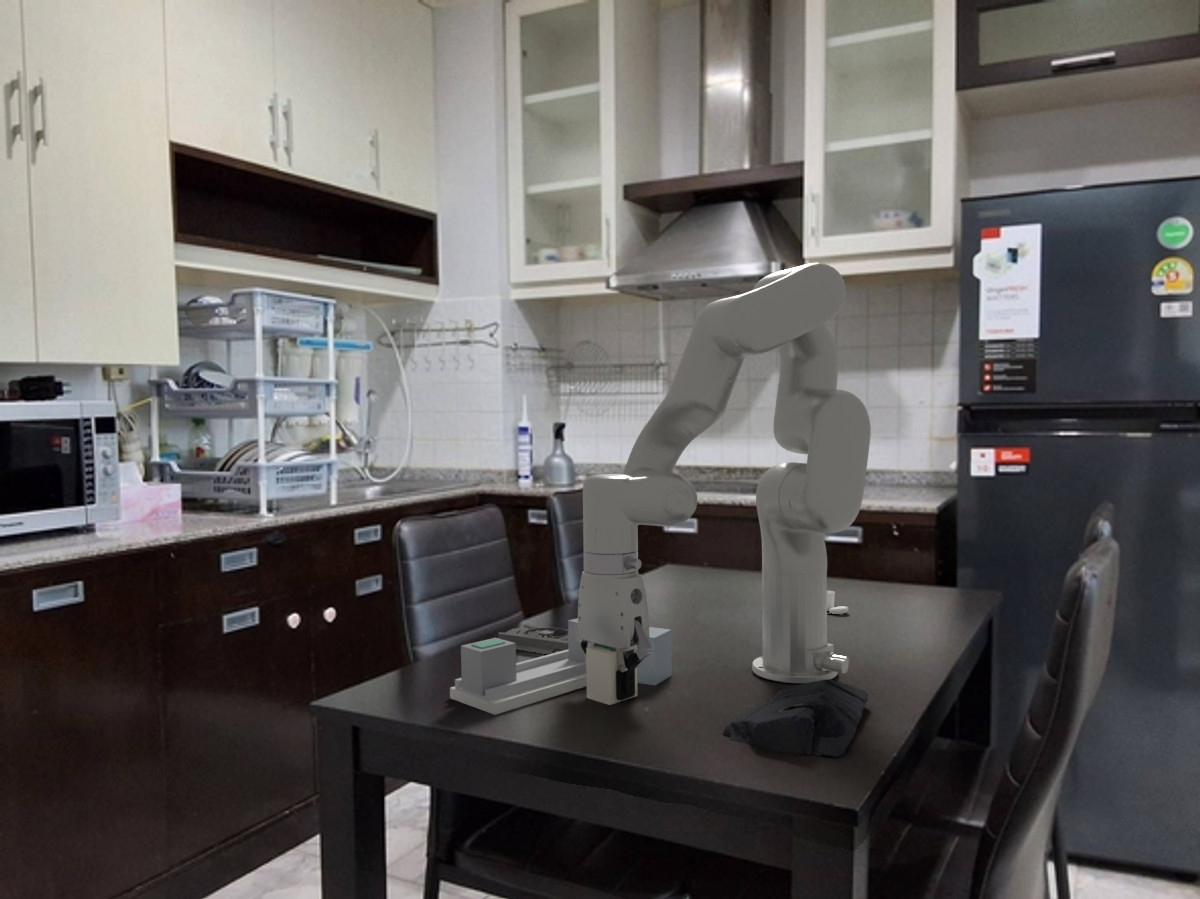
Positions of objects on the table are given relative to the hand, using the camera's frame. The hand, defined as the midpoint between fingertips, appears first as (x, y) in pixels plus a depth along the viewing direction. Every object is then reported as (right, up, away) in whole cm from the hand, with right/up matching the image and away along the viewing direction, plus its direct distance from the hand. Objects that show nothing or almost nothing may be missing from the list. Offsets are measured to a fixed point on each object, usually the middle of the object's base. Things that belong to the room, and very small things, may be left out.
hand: (612, 692), depth 127 cm
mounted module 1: (-17, +1, -1) cm, 17 cm away
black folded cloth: (+24, -2, -11) cm, 27 cm away
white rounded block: (+41, +1, +49) cm, 64 cm away
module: (+6, 0, +8) cm, 10 cm away
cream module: (0, -1, 0) cm, 1 cm away
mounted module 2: (-3, +2, +13) cm, 13 cm away
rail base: (-10, 0, +6) cm, 11 cm away
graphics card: (-9, 0, +27) cm, 29 cm away
